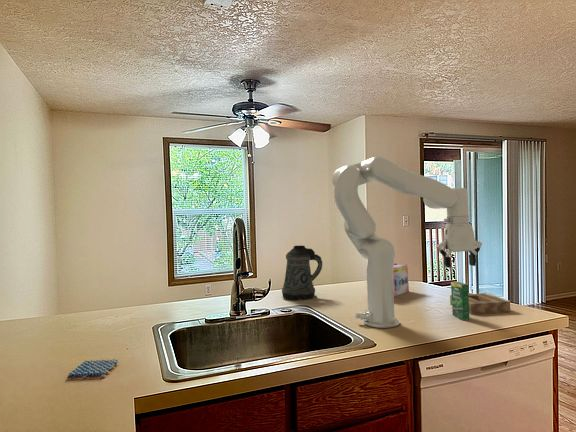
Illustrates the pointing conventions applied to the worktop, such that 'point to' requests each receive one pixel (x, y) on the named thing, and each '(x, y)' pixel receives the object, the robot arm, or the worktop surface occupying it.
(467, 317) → the coffee box
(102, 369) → the woven mat
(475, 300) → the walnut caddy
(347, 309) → the worktop surface
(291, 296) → the beer stein
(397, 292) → the gum box
